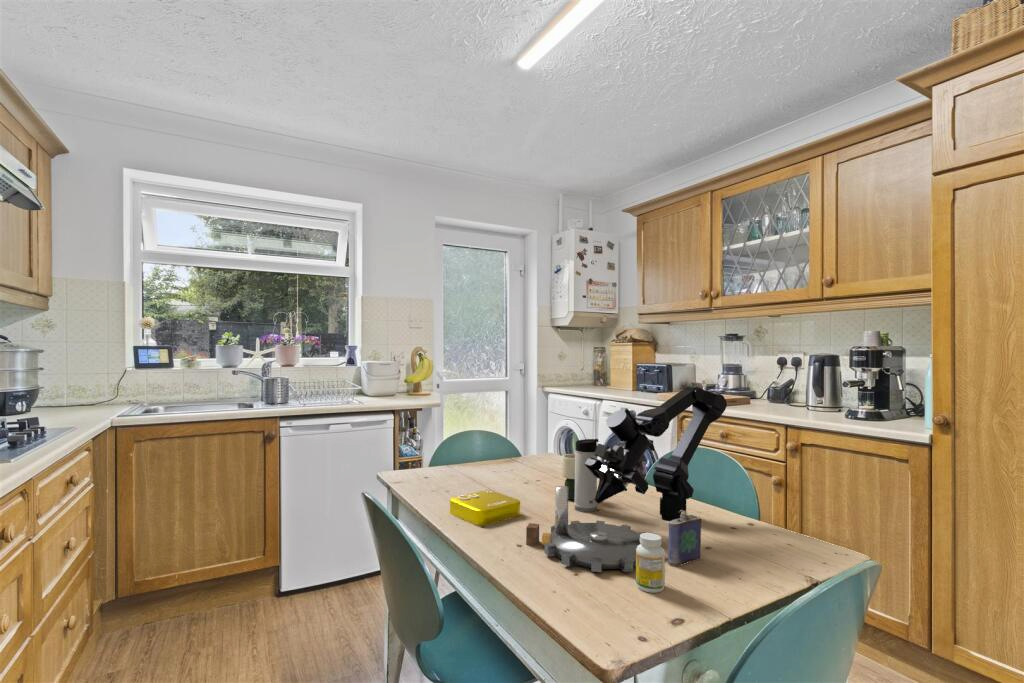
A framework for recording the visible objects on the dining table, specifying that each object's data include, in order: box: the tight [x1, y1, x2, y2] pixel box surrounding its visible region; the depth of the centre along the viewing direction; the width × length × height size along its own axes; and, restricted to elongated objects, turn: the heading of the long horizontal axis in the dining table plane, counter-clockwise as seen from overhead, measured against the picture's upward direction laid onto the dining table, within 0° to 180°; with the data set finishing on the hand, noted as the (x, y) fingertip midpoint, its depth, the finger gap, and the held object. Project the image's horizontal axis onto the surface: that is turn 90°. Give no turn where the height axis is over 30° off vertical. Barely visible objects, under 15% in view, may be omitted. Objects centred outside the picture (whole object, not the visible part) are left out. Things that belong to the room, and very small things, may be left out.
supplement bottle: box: [635, 532, 666, 594], centre depth 97 cm, size 5×5×10 cm
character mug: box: [561, 453, 575, 500], centre depth 155 cm, size 11×7×13 cm, turn 30°
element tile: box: [449, 489, 521, 527], centre depth 140 cm, size 15×15×5 cm
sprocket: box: [541, 485, 647, 573], centre depth 114 cm, size 25×25×12 cm
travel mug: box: [574, 438, 600, 513], centre depth 145 cm, size 6×7×20 cm
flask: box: [667, 510, 702, 567], centre depth 110 cm, size 9×3×11 cm, turn 121°
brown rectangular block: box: [525, 522, 540, 547], centre depth 119 cm, size 2×3×4 cm
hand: (596, 501), depth 125 cm, fingers closed
